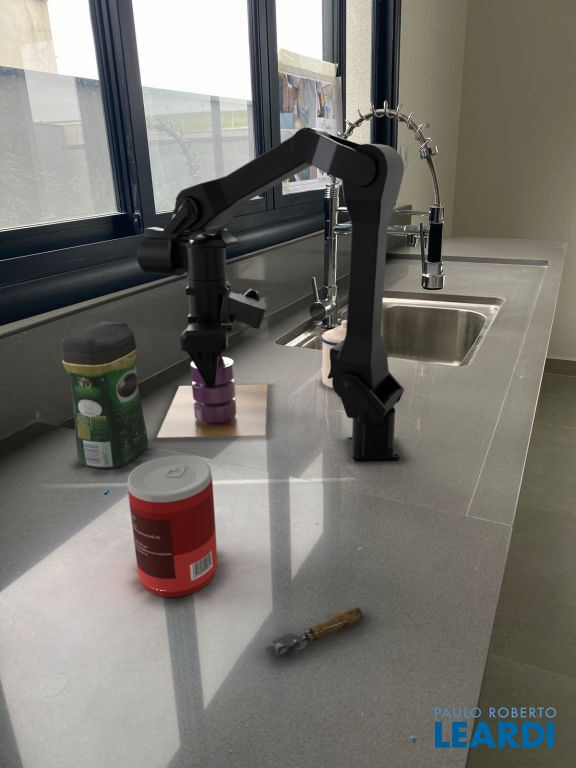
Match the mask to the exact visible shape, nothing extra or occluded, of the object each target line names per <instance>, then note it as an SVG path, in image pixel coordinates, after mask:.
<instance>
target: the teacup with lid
mask: <svg viewBox="0 0 576 768" xmlns="http://www.w3.org/2000/svg"><path fill="white" fill-rule="evenodd" d="M346 328H347V319H343V320H342V321H341V325H337V326H336V327H333V328H332V329H328V330H326V331H325V332H323V333H322V335H321V337H320V338H321V339H320V340H321V341H322V384H323V385H324V386H326V387H328V388H331V389H333V385H332V378H330V379H328V375H329V373H330V368H331V363H330V349H331V348H332V347H334V346H335V345H337V344H338V343H340V342H341V341H343V340H344V339H345V336H346Z"/></svg>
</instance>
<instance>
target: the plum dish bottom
mask: <svg viewBox="0 0 576 768" xmlns="http://www.w3.org/2000/svg"><path fill="white" fill-rule="evenodd" d="M193 406H194V416H195V418H196V419H198V420H200V421H203V422H205V423H211V424H216V423H222V422H226V421H228V420H229V419H231V418H233V417H234V416H235V415H236V398H235V397H234V398H233V399H231V400H229V401H228V402H226V403H224V404H220V405H205V404H202V403H200V402H197V401H195V400H193Z"/></svg>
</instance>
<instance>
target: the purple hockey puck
mask: <svg viewBox="0 0 576 768" xmlns="http://www.w3.org/2000/svg"><path fill="white" fill-rule="evenodd" d="M189 366H190V377H191V381H192V382H193V381H194V382H196V383H199V384H200V385H203V386H206V384H205V382H204V380H203V378H202V376H201V375H200V373H199V371H198V369H197V368H196V366H195V364H194V362H193V361H192V360H191V361H190V365H189ZM235 374H236V373H235V361H234V359H232V358H230V357H226V356H221V357H219V358H218V366H217V373H216V381H215V386H220V385H224V384H226V383H227V382H229V381H231V380H232V379H234V380H235V376H236V375H235Z"/></svg>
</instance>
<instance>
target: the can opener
mask: <svg viewBox="0 0 576 768" xmlns="http://www.w3.org/2000/svg"><path fill="white" fill-rule="evenodd" d="M356 616H357V617H356ZM363 616H364V615H363V612H362V610H361V609H360V608H359V607H354V608H351V609H348V610H346V611H343V612H341V613H339V614H337V615H334V616H333V617H331V618H330V619H328V620H326V621H325V622H322V623H319V624H317V625H315V626H312V627H310V628H308V630H306V631H304V634H295V633H288V634H284V635H282V636H280V637H277V638H275V639H274V640H272V641H271V642H270V643H269V644H268V646H267V647H266V649H265V651H267V650H270V649H272V648H273V649H274V652H275V654H276V655H277V656H278V657H282V656H283V655H285V654H286V653H287V652H288V651H289V650H290V649H291V648H293V647H295V646H297V645H299V647H297V648H294V651H301V650H304V649H305V648H307V645H308V643H311V642H315V641H317V640H319V639H321V638H323V637H325V636H327V635H329V634H332V633H334V632H337V631H340V630H343V629H345V628H347V627H350V626H352V625H353V624H355V623H357V622H358V621H361V620H362V619H363ZM354 617H355V618H354ZM352 618H353V619H352ZM344 621H346V622H344ZM341 622H343V623H341ZM338 623H341V624H338ZM335 624H338V625H335ZM332 625H335V626H332ZM329 626H332V627H329ZM326 627H329V628H326ZM324 628H326V629H324ZM322 630H323V631H322ZM320 631H321V632H320ZM317 632H318V633H317ZM315 633H316V634H315ZM308 634H311V635H308ZM282 647H283V648H282ZM279 648H282V649H280V650H279Z"/></svg>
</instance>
